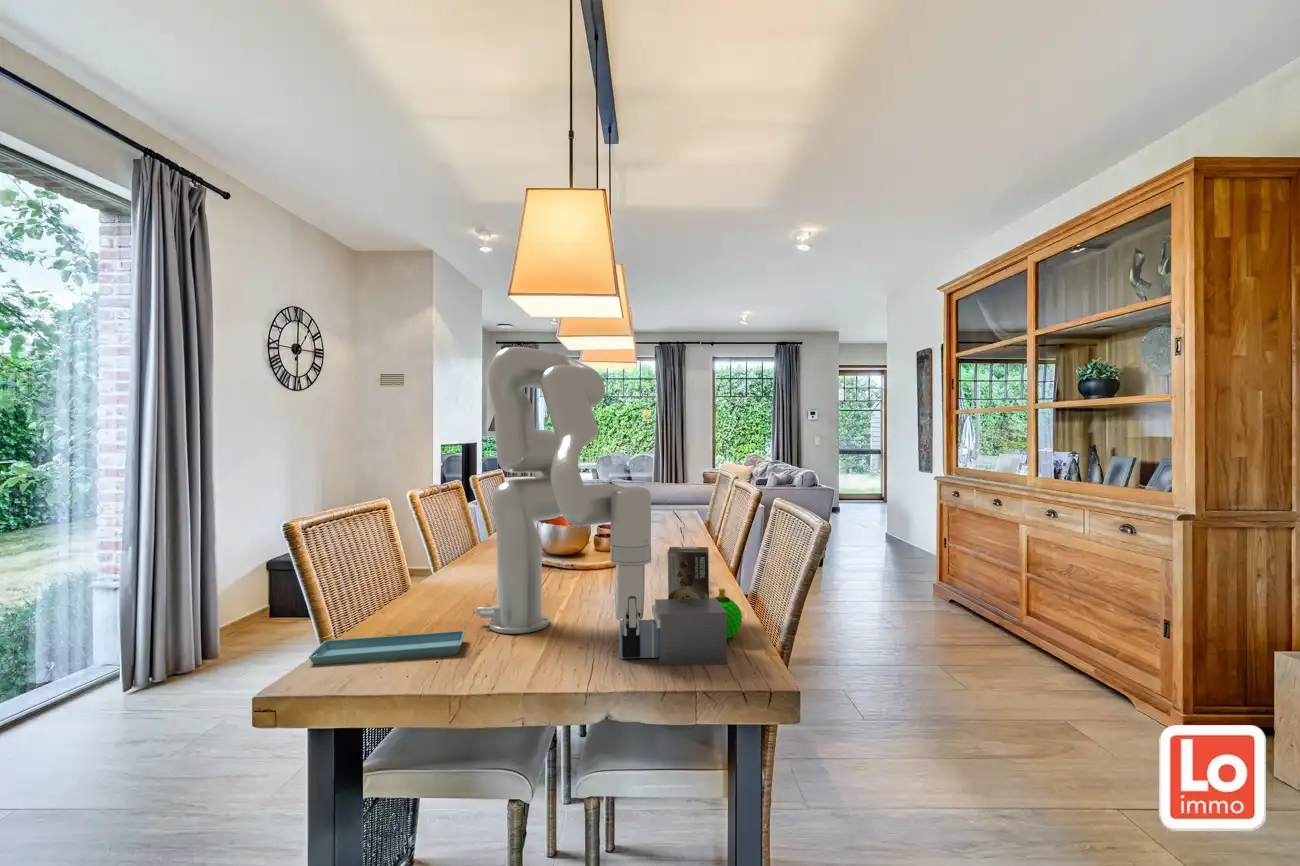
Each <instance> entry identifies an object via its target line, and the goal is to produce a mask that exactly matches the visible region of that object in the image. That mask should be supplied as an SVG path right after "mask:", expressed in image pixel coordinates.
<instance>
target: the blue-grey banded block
mask: <svg viewBox="0 0 1300 866" xmlns="http://www.w3.org/2000/svg"><path fill="white" fill-rule="evenodd" d="M627 624H629V622H627ZM639 634H640V657H632V658H631V659H638V658H639V659H641V658H642V659H643V658H645V659H646V658H653V659H654V658H659V628H657V627H656V624H655V621H654V619H652V618H651V619H641V620H640V619H639ZM622 635H624V620H623V619H622V620H621V619H620V620H619V658H620V659H625V658H624V657H623V656H622Z"/></svg>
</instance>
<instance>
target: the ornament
mask: <svg viewBox="0 0 1300 866" xmlns="http://www.w3.org/2000/svg"><path fill="white" fill-rule="evenodd" d="M725 593H726V589H725V588H722V587H721V588H720V587H719V588H718V596H716V597H714V598H716V599H717V600H718V601H719V603H720V604H721V605H722V607H723V608H724V609H725V611H726V612H727V640H728V639H730V638H733V637H734V635H735V634H737V633H738V631H739V630H740V629H741V625H742V623H743V621H742V619H743V615H742V611H741V608H740V607H739V606H738V604H736V602H734V600H732V599H731V598H729V597H727V596H726V595H725Z"/></svg>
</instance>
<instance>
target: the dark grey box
mask: <svg viewBox="0 0 1300 866" xmlns="http://www.w3.org/2000/svg"><path fill="white" fill-rule="evenodd" d="M651 613H652V617H653V620H654V621H655V624H656V627H657V628H659V657H658V663H659V666H660V667H663V666H664V667H665V666H694V665H695V666H696V665H698V666H701V665H703V666H704V665H726V664H728V660H727V657H728V655H727V653H728V652H727V651H728V650H727V649H728V647H727V646H728V644H727V640H728V639H727V612H726V611H725V609H724V608H723V607H722V605H721V604H720V603H719V601H718V600H717V599H716V598H715V597H711V598H710V597H709V598H699V599H668V598H665V599H664V598H659V599H656V598H655V599H654V604H652V605H651Z"/></svg>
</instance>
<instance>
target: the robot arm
mask: <svg viewBox="0 0 1300 866" xmlns="http://www.w3.org/2000/svg"><path fill="white" fill-rule="evenodd" d="M487 383H488V384H487V385H488V388H489V393H490V398H491V402H492V408H493V414H494V432H495V446H496V447H495V449H496V459H497V464H498V465H499V467H500V469H502V470H503V471H504V472H507V473H513V474H514V473H515V474H517V473H518V474H521V473H534V478H528V477H527V478H517V479H511V480H510V479H509V480H506V481H504V482H502V483H501V484H499V485H498V486H497V487H496V488H495V490H494V492H493V494H492V498H491V499H492V501H491V502H492V503H491V504H492V505H491V506H492V511H493V515H494V522H495V531H496V560H497V561H496V604H495V605H491V607H489V606H488V607H487V606H477V607H476V610H475V613H476V616H477V617H479V619H485V618H491V619H490V621H489V624H488V627H489V629H490V630H491V631H493V632H496V633H500V634H507V635H508V634H512V635H513V634H514V635H515V634H516V635H518V634H528V633H533V632H537V631H540V630H543V629H545V628H547V626H548V625H549V624H550V618H549V617H548V615H545V614H543V613H542V611H543V608H542V605H543V603H542V602H543V601H542V597H543V595H542V593H543V591H542V589H543V588H542V587H543V585H542V584H543V583H542V581H543V565H542V564H543V563H542V561H543V557H542V556H543V545H542V539H541V535H540V533H539V531H538V530H537V528H536V526H535V523H534V522H540V521H546V520H554V519H557V518H558V517H561V516H562V517H563V519H564V520H565V521H566V522H567V523H568V524H569V525H572V526H575V527H586V526H587V527H589V526H592V525H593V526H594V525H598V524H608V523H610V564H614V565H615V579H614V584H615V586H614V588H615V591H614V593H615V595H614V596H615V598H614V602H615V603H614V604H615V605H614V608H615V609H614V611H615V619H617V620H618V621H621V619H622V620H624V635H622V656H623V657H624V658H623V659H633V658H632V657H640V634H639V620H643V618H644V607H645V582H646V581H645V575H646V573H645V571H646V570H645V569H646V568H645V565H648V564H650V563H651V562H652V495H651V492H650V490H649V489H648V488H645V487H640V486H622V485H619V484H616V483H615V484H614V483H600V484H586V485H584V483H583V480H582V476H581V473H580V469H579V455H580V453H581V450H582V449H583V447H585V446H588V445H589V444H590V443H592V442H593V441H594V440H596V438H597V437H598V435H599V431H600V430H599V427H598V423H597V420H596V418H595V415H594V413H593V410H592V409H593V407H596V406H598V405H599V404H600V403H601V402H602V401H603V398H604V396H605V393H606V392H605V391H606V389H605V382H604V379H603V378H602V376H601V374H600V373H599V372H598V371H597V370H595V369H594V368H592V367H590V366H588V365H586V364H585V363H582V362H580V361H579V360H577V359H574V358H573V357H570V356H569V355H567V354H563V353H560V352H557V351H550V350H545V349H538V348H533V347H527V346H509V347H504V348H502V349H501V350H499V351H497V353H496V354H495V355H494V356H493V358H492V360H491V362H490V365H489V368H488V376H487ZM524 388H530V389H531V388H532V389H541V393H542V396H543V399H544V403H545V406H546V410H547V411H548V415H549V418H550V421H551V425H552V428H553V431H552V430H545V429H536V425H535V413H534V408H533V405H532V403H531V400H530V399H529V397H528V395H527V393H525V391H524ZM627 622H629V624H627Z"/></svg>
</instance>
